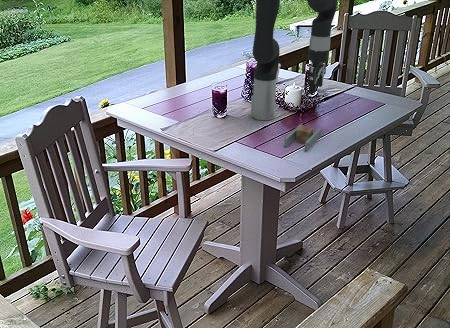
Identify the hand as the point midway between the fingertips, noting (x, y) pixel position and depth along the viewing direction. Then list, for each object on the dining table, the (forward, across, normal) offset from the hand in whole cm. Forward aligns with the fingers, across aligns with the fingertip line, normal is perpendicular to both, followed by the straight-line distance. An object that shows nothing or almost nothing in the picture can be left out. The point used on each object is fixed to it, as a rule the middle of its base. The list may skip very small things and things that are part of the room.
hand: (315, 89), depth 197 cm
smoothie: (+18, -52, -38) cm, 67 cm away
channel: (+18, +9, 0) cm, 20 cm away
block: (+18, +8, 0) cm, 20 cm away
